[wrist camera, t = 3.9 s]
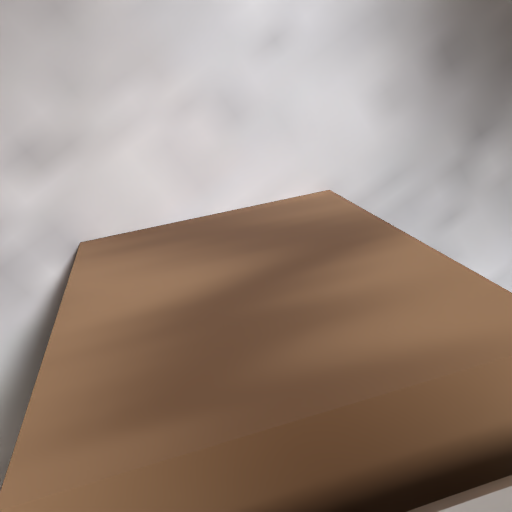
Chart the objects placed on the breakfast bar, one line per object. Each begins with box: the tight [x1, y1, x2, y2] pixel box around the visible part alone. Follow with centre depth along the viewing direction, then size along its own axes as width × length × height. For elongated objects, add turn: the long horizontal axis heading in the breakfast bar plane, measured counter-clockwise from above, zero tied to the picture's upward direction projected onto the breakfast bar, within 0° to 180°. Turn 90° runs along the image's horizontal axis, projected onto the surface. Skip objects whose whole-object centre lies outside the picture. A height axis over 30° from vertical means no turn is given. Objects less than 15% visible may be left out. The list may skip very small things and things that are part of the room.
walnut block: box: [0, 190, 512, 512], centre depth 9 cm, size 6×6×7 cm
